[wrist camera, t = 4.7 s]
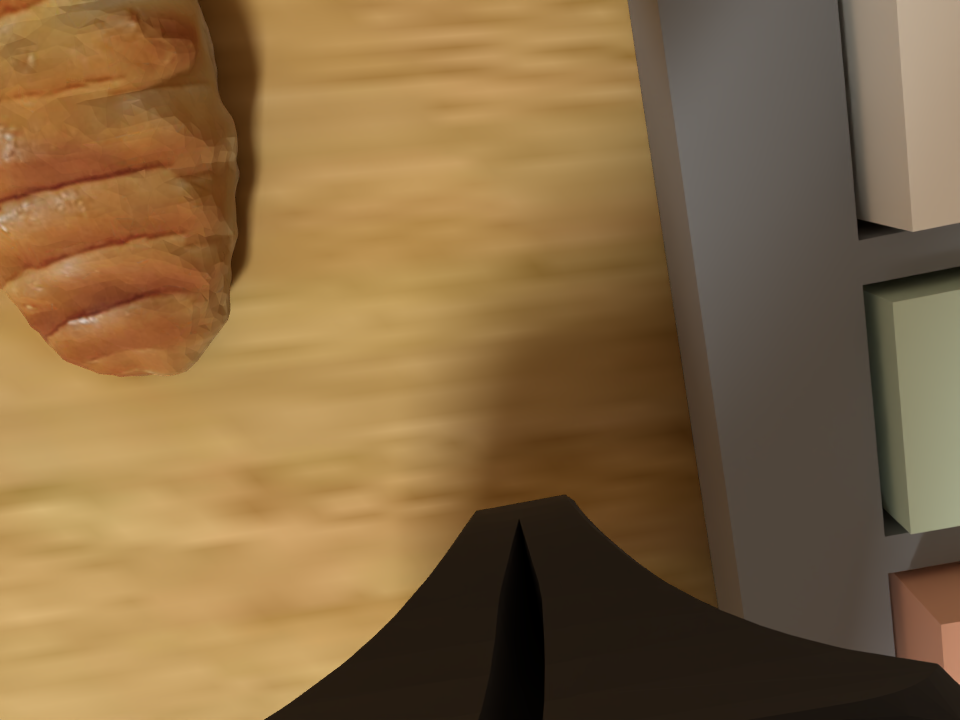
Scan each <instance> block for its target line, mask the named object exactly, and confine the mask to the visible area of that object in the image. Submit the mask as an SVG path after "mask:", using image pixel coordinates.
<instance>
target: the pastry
mask: <svg viewBox="0 0 960 720" xmlns="http://www.w3.org/2000/svg"><path fill="white" fill-rule="evenodd" d="M217 77H218V76H217V67H216V63H215V58H214V47H213V44H212V41H211V37H210V33H209V29H208V26H207V24H206V22H205V20H204V17H203V13H202V10H201V8H200V5H199V3H198V0H0V288H1V289H3V290H4V291H5V292H6V293H7V295H8V297H9V298H10V299H11V300H12V301H13V302H14V303H15V305H16V306H17V307H18V308H19V309H20V311H21V312H22V314H23V315H24V316H25V318H26V320H27V321H28V323H29V325H30V326H31V327H32V328H33V329H35V330H36V331H38V332H39V333H40V335H41V336H42V337H43V339H44V340H45V341H46V342H47V343H48V345H49V346H50V347H51V348H53V349H54V350H55V351H56V352H57V353H58V354H59V355H60V356H61V358H62V359H64V360H65V361H67V362H69V363H72V364H75V365H77V366H80V367H83V368H86V369H88V370H91V371H94V372H96V373H99V374H107V375H115V376H119V377H124V376H146V375H152V374H155V375H159V376H171V375H176V374H179V373H182V372H185V371H187V370H188V369H189V368H190V367H192V366H193V365H194V364H195V363H196V362H197V361H198V359H199V358H200V357H201V355H202V354H203V353H204V351H205V350H206V348H207V347H208V346H209V344H210V343H211V341H212V340H213V339H214V337H215V336H216V335H217V334H218V332H219V331H220V330H221V328H222V327H223V326H224V324H225V323H226V322H227V320H228V317H229V314H230V284H231V279H232V271H231V258H232V254H233V251H234V247H235V244H236V241H237V238H238V227H237V223H236V203H235V193H236V187H237V183H238V180H239V168H238V165H237V163H236V159H237V152H238V140H237V133H236V128H235V124H234V121H233V118H232V117H231V115H230V114H229V112H228V111H227V109H226V108H225V106H224V105H223V103H222V101H221V99H220V96H219V91H218V84H217Z"/></svg>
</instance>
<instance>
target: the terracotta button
mask: <svg viewBox="0 0 960 720" xmlns="http://www.w3.org/2000/svg"><path fill="white" fill-rule="evenodd" d="M888 578H889V590H890V601H891V612H892V624H893V635H894V646H895V657H900V658H906V659H912V660H918V661H925V662H931V663H937V664H939V665H940V666H941V667H942V668H943V669H944V670H945V671H946V672H947V673H948V674H949V675H950V676H951V677H952V678H953V679H954V680H955V681H956V682H957V683H958V684H960V561H958V562H952V563H946V564H941V565H935V566H929V567H923V568H918V569H912V570H906V571H900V572H894V573H889V574H888Z"/></svg>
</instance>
